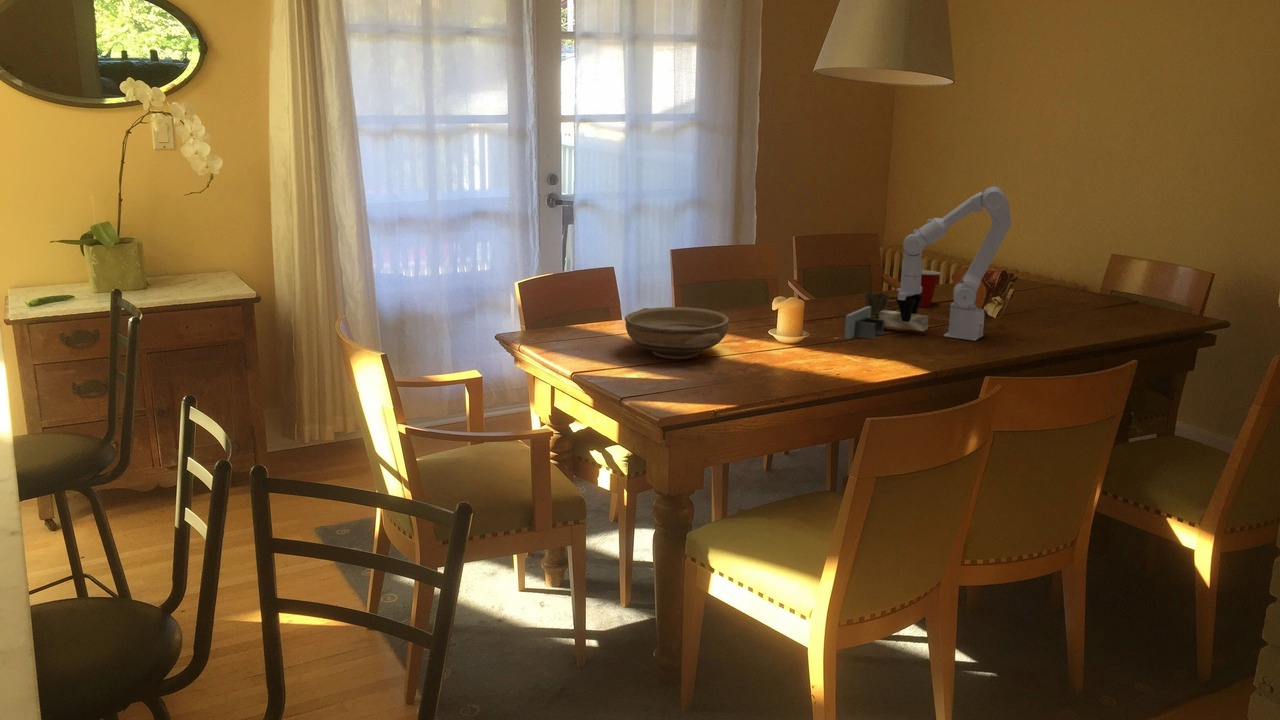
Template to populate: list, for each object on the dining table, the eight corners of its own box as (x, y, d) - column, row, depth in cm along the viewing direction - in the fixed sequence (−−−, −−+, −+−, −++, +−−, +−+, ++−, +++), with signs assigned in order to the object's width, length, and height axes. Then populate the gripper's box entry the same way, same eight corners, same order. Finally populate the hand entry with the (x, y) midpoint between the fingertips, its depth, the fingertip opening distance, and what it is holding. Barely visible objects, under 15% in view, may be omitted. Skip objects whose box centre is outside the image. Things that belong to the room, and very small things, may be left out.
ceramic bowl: (600, 344, 289) (599, 310, 287) (686, 333, 302) (686, 300, 300) (664, 375, 258) (664, 337, 255) (757, 362, 271) (758, 325, 268)
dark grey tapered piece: (885, 316, 325) (887, 291, 323) (888, 321, 318) (890, 296, 316) (861, 315, 326) (863, 291, 324) (864, 320, 319) (866, 295, 317)
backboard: (869, 329, 308) (871, 306, 306) (848, 339, 295) (849, 315, 293) (866, 328, 308) (867, 306, 307) (844, 338, 296) (845, 315, 294)
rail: (927, 328, 301) (928, 315, 300) (923, 331, 298) (924, 317, 297) (883, 322, 309) (884, 309, 308) (878, 324, 306) (879, 311, 305)
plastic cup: (942, 304, 343) (945, 269, 340) (932, 310, 334) (935, 274, 331) (910, 301, 349) (913, 266, 346) (900, 306, 340) (903, 271, 337)
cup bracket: (883, 334, 301) (884, 319, 300) (873, 339, 295) (874, 324, 294) (864, 331, 304) (865, 317, 303) (854, 336, 299) (855, 321, 297)
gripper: (907, 270, 307) (904, 314, 310) (889, 277, 295) (886, 322, 299) (930, 272, 303) (926, 317, 306) (912, 279, 291) (909, 325, 295)
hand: (908, 320), depth 302 cm, fingers closed on rail, 4 cm apart
